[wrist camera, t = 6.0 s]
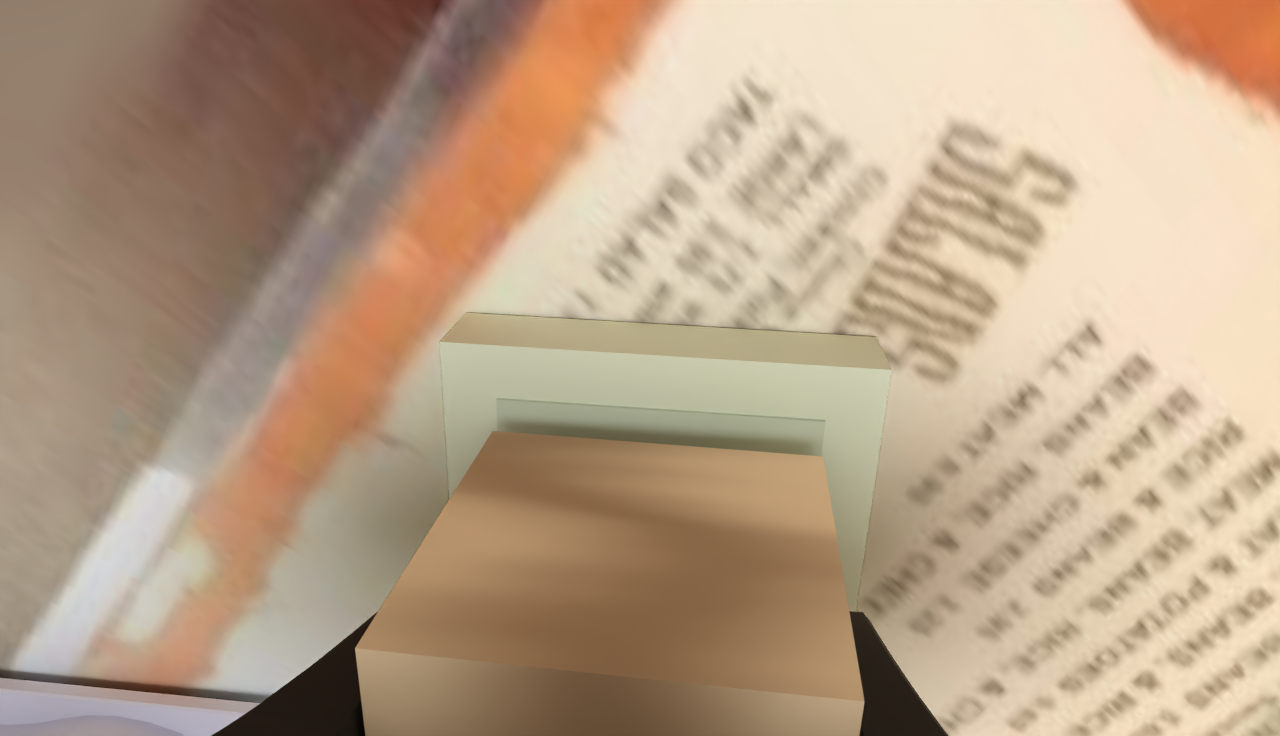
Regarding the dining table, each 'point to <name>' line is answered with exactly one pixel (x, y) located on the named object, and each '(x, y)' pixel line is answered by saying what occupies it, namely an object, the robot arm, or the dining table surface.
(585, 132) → the dining table surface
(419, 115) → the dining table surface
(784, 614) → the block
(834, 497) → the base
